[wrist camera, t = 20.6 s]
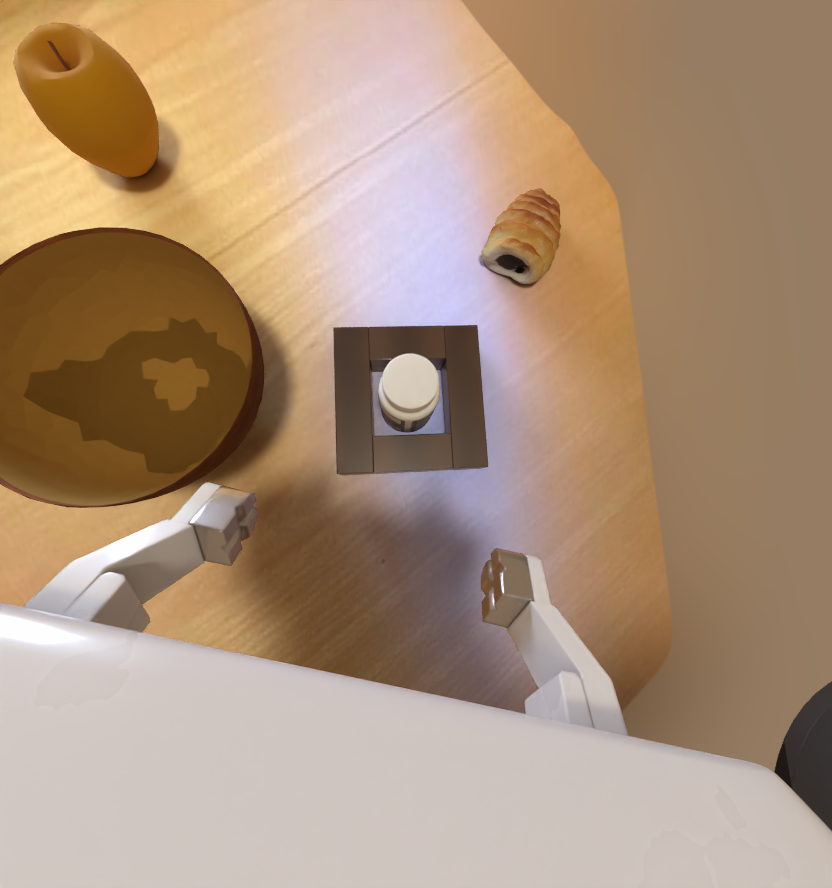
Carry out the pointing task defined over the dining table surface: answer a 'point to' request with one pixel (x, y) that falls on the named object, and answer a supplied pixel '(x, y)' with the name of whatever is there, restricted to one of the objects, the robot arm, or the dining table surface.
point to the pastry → (524, 237)
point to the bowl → (120, 368)
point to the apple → (88, 97)
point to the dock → (461, 399)
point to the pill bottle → (408, 392)
